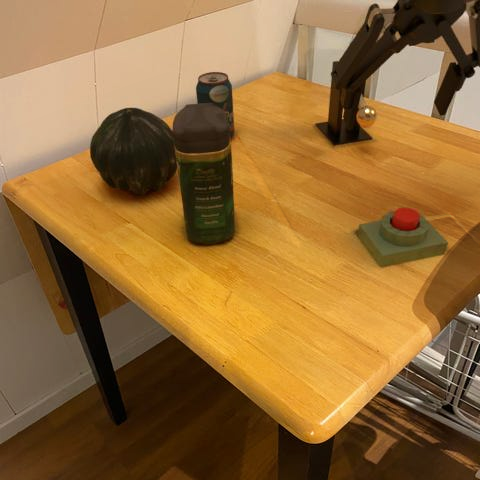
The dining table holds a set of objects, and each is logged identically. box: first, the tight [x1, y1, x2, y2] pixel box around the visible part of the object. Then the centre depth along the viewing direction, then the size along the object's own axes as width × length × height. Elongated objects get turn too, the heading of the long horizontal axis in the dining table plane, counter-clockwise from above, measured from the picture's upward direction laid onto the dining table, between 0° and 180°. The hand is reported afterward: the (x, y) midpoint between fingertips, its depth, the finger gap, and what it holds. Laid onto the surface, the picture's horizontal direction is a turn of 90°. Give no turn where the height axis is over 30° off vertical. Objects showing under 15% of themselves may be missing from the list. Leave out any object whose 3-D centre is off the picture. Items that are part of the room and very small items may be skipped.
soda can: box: [195, 71, 235, 141], centre depth 96 cm, size 7×7×12 cm
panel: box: [357, 210, 449, 268], centre depth 71 cm, size 10×8×4 cm
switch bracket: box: [315, 60, 373, 147], centre depth 93 cm, size 10×8×14 cm
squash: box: [89, 107, 178, 197], centre depth 84 cm, size 14×15×15 cm
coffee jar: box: [171, 103, 236, 245], centre depth 71 cm, size 10×8×19 cm
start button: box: [392, 207, 420, 231], centre depth 69 cm, size 4×4×2 cm
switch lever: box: [356, 93, 378, 129], centre depth 88 cm, size 13×4×4 cm, turn 14°
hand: (393, 116), depth 70 cm, fingers open, 13 cm apart
